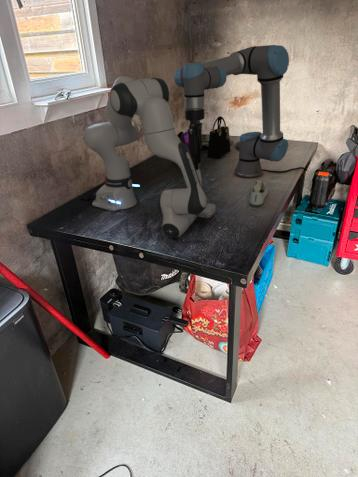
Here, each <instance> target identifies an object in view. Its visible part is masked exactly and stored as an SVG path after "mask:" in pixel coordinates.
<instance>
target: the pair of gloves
mask: <svg viewBox="0 0 358 477" xmlns="http://www.w3.org/2000/svg"><path fill="white" fill-rule="evenodd" d="M209 135H210V134H206V135H205V140H202V147H201V148H203V149H204V148H208V144H209ZM233 144H234V140H231V139H230V146H231V145H233Z"/></svg>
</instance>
